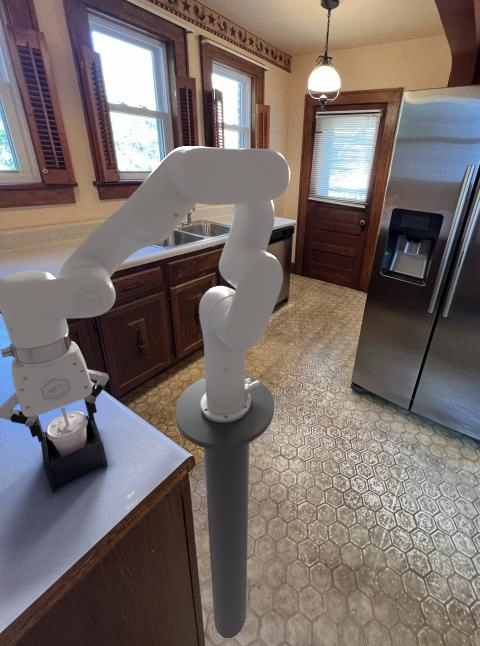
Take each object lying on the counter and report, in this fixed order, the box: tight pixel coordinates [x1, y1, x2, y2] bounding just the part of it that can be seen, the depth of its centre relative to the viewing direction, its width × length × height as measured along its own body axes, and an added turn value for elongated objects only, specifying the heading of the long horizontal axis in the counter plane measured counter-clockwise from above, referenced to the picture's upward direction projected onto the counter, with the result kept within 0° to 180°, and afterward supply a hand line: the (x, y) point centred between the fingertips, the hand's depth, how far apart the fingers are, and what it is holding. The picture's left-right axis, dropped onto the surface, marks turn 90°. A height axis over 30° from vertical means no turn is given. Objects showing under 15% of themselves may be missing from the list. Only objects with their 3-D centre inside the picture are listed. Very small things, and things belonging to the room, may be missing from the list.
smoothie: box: [45, 405, 88, 458], centre depth 59 cm, size 6×6×14 cm
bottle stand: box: [40, 414, 109, 494], centre depth 60 cm, size 9×10×6 cm
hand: (66, 425), depth 58 cm, fingers open, 7 cm apart
